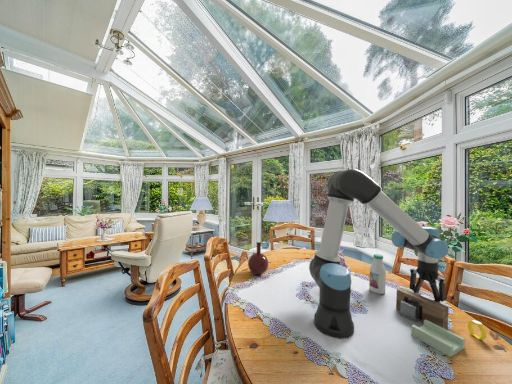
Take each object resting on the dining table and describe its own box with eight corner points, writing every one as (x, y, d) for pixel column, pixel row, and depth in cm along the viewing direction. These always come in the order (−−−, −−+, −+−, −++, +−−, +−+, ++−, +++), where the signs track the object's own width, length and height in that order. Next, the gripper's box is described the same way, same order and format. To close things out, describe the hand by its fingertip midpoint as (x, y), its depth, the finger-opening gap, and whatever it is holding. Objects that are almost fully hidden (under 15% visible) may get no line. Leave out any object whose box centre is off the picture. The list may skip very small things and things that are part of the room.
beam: (442, 331, 84) (443, 309, 84) (396, 308, 101) (396, 289, 100) (447, 328, 86) (448, 306, 86) (401, 306, 102) (401, 287, 102)
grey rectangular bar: (415, 322, 90) (415, 308, 90) (400, 314, 95) (400, 301, 95) (437, 312, 98) (438, 299, 98) (422, 306, 103) (423, 293, 103)
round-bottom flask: (245, 270, 141) (246, 240, 141) (264, 269, 145) (265, 240, 145) (250, 279, 129) (251, 246, 128) (271, 277, 132) (272, 245, 132)
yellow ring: (465, 332, 85) (465, 317, 85) (473, 333, 84) (473, 317, 85) (480, 342, 79) (480, 325, 79) (488, 343, 78) (488, 326, 79)
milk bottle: (381, 288, 121) (382, 253, 121) (388, 295, 113) (389, 257, 113) (366, 287, 122) (368, 252, 122) (372, 293, 114) (374, 256, 114)
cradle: (464, 348, 75) (464, 338, 75) (450, 357, 71) (450, 346, 71) (425, 328, 86) (425, 319, 86) (411, 334, 82) (411, 325, 82)
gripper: (458, 266, 92) (456, 319, 92) (410, 253, 109) (408, 298, 109) (449, 268, 88) (447, 323, 89) (401, 255, 106) (399, 301, 106)
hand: (425, 309), depth 99 cm, fingers closed on grey rectangular bar, 6 cm apart
